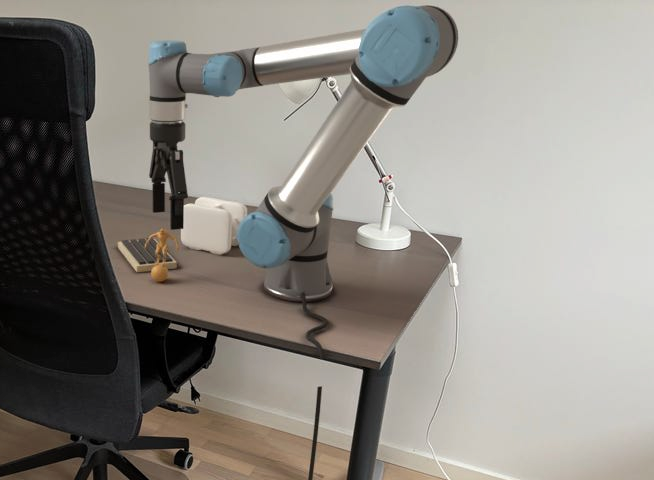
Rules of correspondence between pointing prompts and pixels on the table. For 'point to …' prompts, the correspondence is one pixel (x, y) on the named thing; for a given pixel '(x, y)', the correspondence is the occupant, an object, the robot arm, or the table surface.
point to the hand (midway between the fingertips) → (167, 220)
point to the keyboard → (144, 254)
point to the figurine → (159, 270)
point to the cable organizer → (212, 224)
